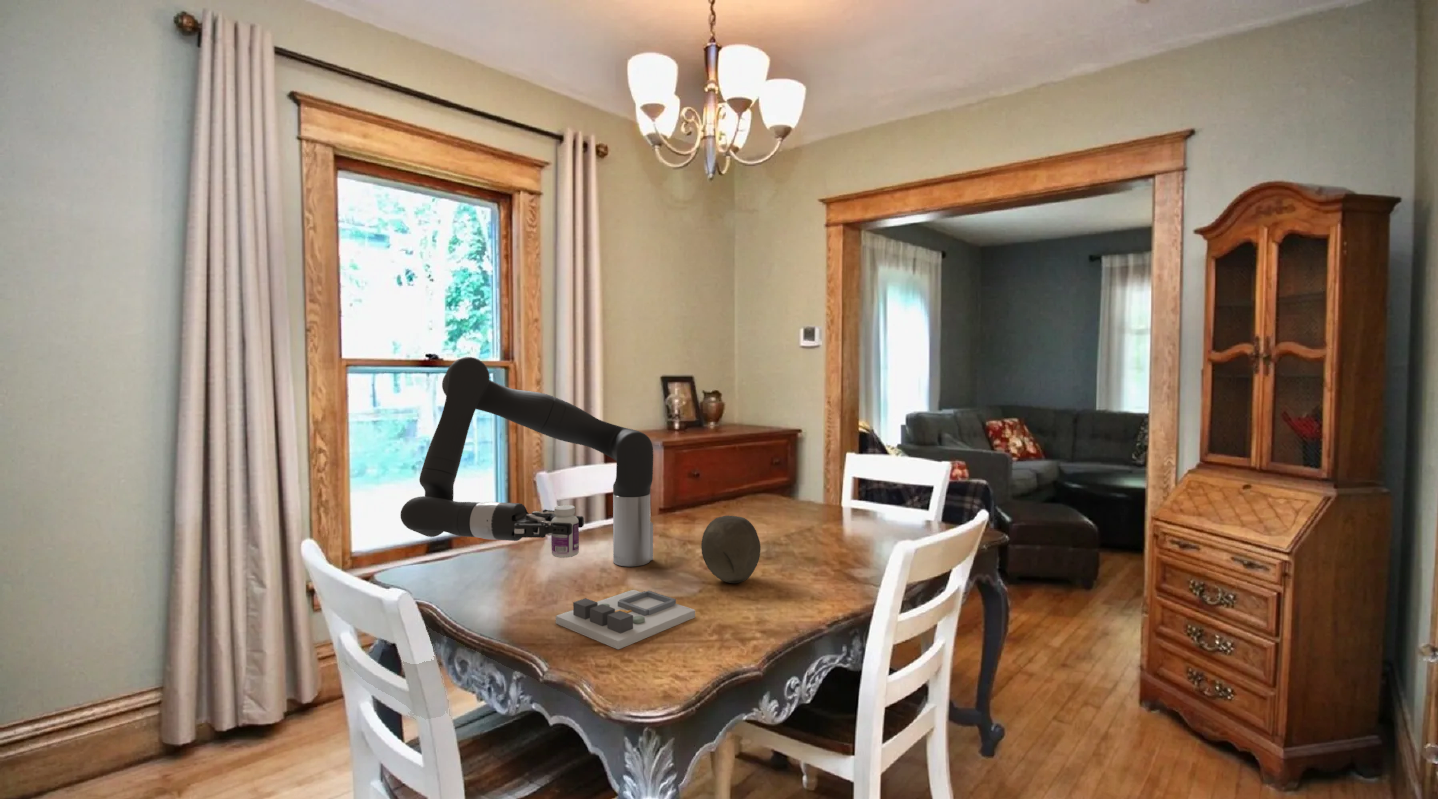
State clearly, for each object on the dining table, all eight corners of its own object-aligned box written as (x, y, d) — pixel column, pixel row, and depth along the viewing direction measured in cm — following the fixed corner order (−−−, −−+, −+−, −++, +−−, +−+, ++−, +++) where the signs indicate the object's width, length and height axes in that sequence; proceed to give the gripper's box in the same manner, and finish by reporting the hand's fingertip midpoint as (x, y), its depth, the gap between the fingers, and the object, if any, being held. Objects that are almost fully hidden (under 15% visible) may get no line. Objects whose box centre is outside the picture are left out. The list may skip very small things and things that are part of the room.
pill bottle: (569, 549, 140) (569, 502, 139) (584, 554, 136) (583, 507, 135) (546, 554, 136) (546, 506, 135) (560, 560, 132) (560, 511, 132)
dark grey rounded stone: (773, 580, 157) (774, 516, 156) (732, 595, 147) (733, 527, 146) (728, 567, 166) (728, 507, 166) (687, 580, 156) (687, 516, 155)
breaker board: (633, 596, 146) (633, 578, 145) (695, 617, 134) (695, 597, 134) (555, 623, 130) (555, 603, 130) (618, 649, 119) (618, 627, 118)
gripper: (480, 510, 131) (562, 515, 128) (515, 495, 145) (590, 499, 142) (480, 548, 131) (563, 554, 128) (515, 530, 146) (590, 534, 142)
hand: (577, 525), depth 135 cm, fingers closed on pill bottle, 5 cm apart
